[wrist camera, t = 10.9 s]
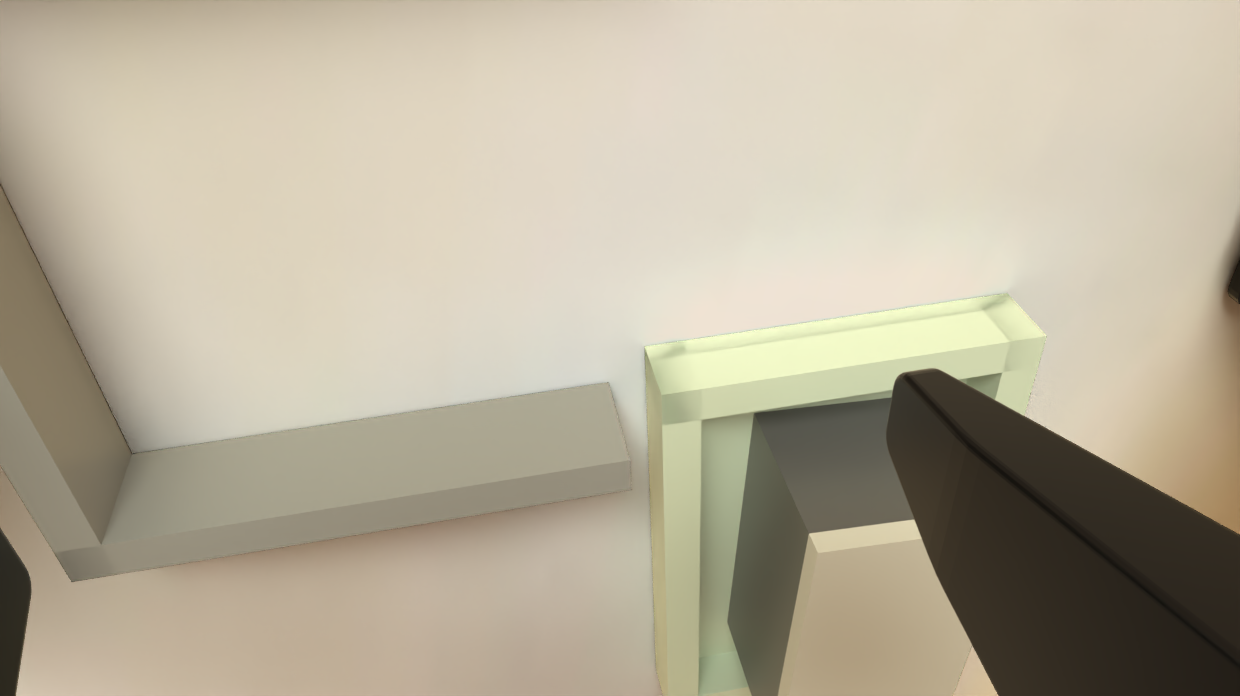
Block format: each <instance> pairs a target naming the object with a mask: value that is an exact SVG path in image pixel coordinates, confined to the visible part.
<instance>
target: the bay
mask: <svg viewBox="0 0 1240 696" xmlns="http://www.w3.org/2000/svg"><path fill="white" fill-rule="evenodd" d="M0 466H1V467H2V469H3V470H4V472H5V474H6V475H7V477H8V479H9V480H10V482H11V484H12V485H13V487H14V488H15V490H16V492H17V493H18V495H19V497H20V498H21V500H22V502H23V503H24V505H25V506H26V508H27V510H28V511H29V513H30V515H31V516H32V518H33V520H34V521H35V523H36V524H37V526H38V528H39V529H40V531H41V533H42V534H43V536H44V538H45V539H46V541H47V542H48V544H49V546H50V547H51V549H52V551H53V552H54V554H55V556H56V557H57V559H58V560H59V562H60V564H61V565H62V567H63V569H64V570H65V572H66V574H67V575H68V577H69V578H70V580H71V582H75V581H81V580H87V579H93V578H99V577H105V576H111V575H117V574H123V573H130V572H136V571H142V570H148V569H154V568H160V567H166V566H172V565H178V564H184V563H190V562H196V561H202V560H208V559H214V558H221V557H227V556H233V555H239V554H245V553H251V552H257V551H263V550H269V549H275V548H281V547H287V546H293V545H299V544H305V543H312V542H318V541H324V540H330V539H336V538H342V537H348V536H354V535H360V534H366V533H372V532H378V531H384V530H390V529H396V528H403V527H409V526H415V525H421V524H427V523H433V522H439V521H445V520H451V519H457V518H463V517H469V516H475V515H481V514H487V513H494V512H500V511H506V510H512V509H518V508H524V507H530V506H536V505H542V504H548V503H554V502H560V501H566V500H572V499H579V498H585V497H591V496H597V495H603V494H609V493H615V492H621V491H627V490H632V487H631V467H630V458H629V454H628V451H627V447H626V443H625V440H624V436H623V433H622V429H621V425H620V422H619V418H618V415H617V411H616V407H615V404H614V400H613V397H612V393H611V390H610V386H609V382H607V383H600V384H593V385H587V386H580V387H574V388H567V389H560V390H554V391H547V392H540V393H534V394H527V395H520V396H514V397H507V398H500V399H494V400H487V401H481V402H474V403H467V404H461V405H454V406H447V407H441V408H434V409H427V410H421V411H414V412H408V413H401V414H394V415H388V416H381V417H374V418H368V419H361V420H354V421H348V422H341V423H334V424H328V425H321V426H315V427H308V428H301V429H295V430H288V431H281V432H275V433H268V434H261V435H255V436H248V437H241V438H235V439H228V440H222V441H215V442H208V443H202V444H195V445H188V446H182V447H175V448H168V449H162V450H155V451H148V452H142V453H135V454H131V451H130V449H129V447H128V445H127V443H126V441H125V439H124V437H123V435H122V433H121V431H120V429H119V427H118V425H117V423H116V421H115V419H114V417H113V415H112V413H111V411H110V409H109V407H108V404H107V402H106V400H105V398H104V396H103V394H102V392H101V390H100V388H99V386H98V384H97V382H96V380H95V378H94V376H93V374H92V372H91V370H90V368H89V366H88V364H87V362H86V360H85V357H84V355H83V353H82V351H81V349H80V347H79V345H78V343H77V341H76V339H75V337H74V335H73V333H72V331H71V329H70V327H69V325H68V323H67V321H66V319H65V317H64V315H63V312H62V310H61V308H60V306H59V304H58V302H57V300H56V298H55V296H54V294H53V292H52V290H51V288H50V286H49V284H48V282H47V280H46V278H45V276H44V274H43V272H42V270H41V268H40V265H39V263H38V261H37V259H36V257H35V255H34V253H33V251H32V249H31V247H30V245H29V243H28V241H27V239H26V237H25V235H24V233H23V231H22V229H21V227H20V225H19V223H18V221H17V218H16V216H15V214H14V212H13V210H12V208H11V206H10V204H9V202H8V200H7V198H6V196H5V194H4V192H3V190H2V188H1V186H0Z"/></svg>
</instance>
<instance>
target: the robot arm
mask: <svg viewBox="0 0 1240 696" xmlns="http://www.w3.org/2000/svg"><path fill="white" fill-rule="evenodd" d="M1228 294H1229V296H1230V297H1231V298H1232V299H1234V300H1235V301H1236V302H1237V303H1239V304H1240V261H1239V263H1238V266H1237V268H1236V271H1235V273H1234V275H1233V278H1232V280H1231V283H1230V285H1229V289H1228ZM886 443H887V448H888V452H889V455H890V457H891V460H892V463H893V465H894V468H895V470H896V473H897V476H898V478H899V481H900V484H901V486H902V489H903V491H904V494H905V497H906V499H907V502H908V504H909V507H910V510H911V512H912V515H913V518H914V520H915V523H916V525H917V528H918V531H919V533H920V536H921V538H922V541H923V544H924V546H925V549H926V551H927V554H928V557H929V559H930V561H931V564H932V566H933V569H934V571H935V573H936V576H937V578H938V580H939V582H940V584H941V586H942V588H943V590H944V592H945V594H946V596H947V598H948V600H949V602H950V604H951V605H952V607H953V609H954V611H955V613H956V615H957V617H958V619H959V621H960V623H961V625H962V627H963V628H964V630H965V632H966V634H967V636H968V638H969V640H970V642H971V644H972V646H973V648H974V650H975V651H976V653H977V655H978V657H979V659H980V661H981V663H982V665H983V667H984V669H985V671H986V673H987V674H988V676H989V678H990V680H991V682H992V684H993V686H994V688H995V690H996V692H997V694H998V696H1240V535H1239V534H1238V533H1236V532H1234V531H1232V530H1230V529H1228V528H1227V527H1225V526H1223V525H1221V524H1219V523H1218V522H1216V521H1214V520H1212V519H1210V518H1209V517H1207V516H1205V515H1203V514H1201V513H1199V512H1198V511H1196V510H1194V509H1192V508H1190V507H1189V506H1187V505H1185V504H1183V503H1181V502H1179V501H1178V500H1176V499H1174V498H1172V497H1170V496H1169V495H1167V494H1165V493H1163V492H1161V491H1160V490H1158V489H1156V488H1154V487H1152V486H1150V485H1149V484H1147V483H1145V482H1143V481H1141V480H1140V479H1138V478H1136V477H1134V476H1132V475H1130V474H1129V473H1127V472H1125V471H1123V470H1121V469H1120V468H1118V467H1116V466H1114V465H1112V464H1111V463H1109V462H1107V461H1105V460H1103V459H1101V458H1100V457H1098V456H1096V455H1094V454H1092V453H1091V452H1089V451H1087V450H1085V449H1083V448H1081V447H1080V446H1078V445H1076V444H1074V443H1072V442H1071V441H1069V440H1067V439H1065V438H1063V437H1062V436H1060V435H1058V434H1056V433H1054V432H1052V431H1051V430H1049V429H1047V428H1045V427H1043V426H1042V425H1040V424H1038V423H1036V422H1034V421H1032V420H1031V419H1029V418H1027V417H1025V416H1023V415H1022V414H1020V413H1018V412H1016V411H1014V410H1013V409H1011V408H1009V407H1007V406H1005V405H1003V404H1002V403H1000V402H998V401H996V400H994V399H993V398H991V397H989V396H987V395H985V394H983V393H982V392H980V391H978V390H976V389H974V388H973V387H971V386H969V385H967V384H965V383H964V382H962V381H960V380H958V379H956V378H954V377H953V376H951V375H949V374H947V373H945V372H944V371H941V370H939V369H936V368H927V369H921V370H915V371H908V372H903V373H901V374H899V375H898V376H897V378H896V380H895V382H894V386H893V391H892V397H891V403H890V409H889V414H888V420H887V426H886ZM30 600H31V581H30V577H29V574H28V571H27V569H26V567H25V565H24V564H23V562H22V561H21V559H20V558H19V556H18V555H17V553H16V552H15V550H14V548H13V547H12V545H11V544H10V542H9V541H8V539H7V538H6V536H5V535H4V533H3V531H2V530H1V528H0V696H16V691H17V684H18V678H19V671H20V665H21V658H22V652H23V645H24V639H25V632H26V626H27V619H28V613H29V606H30Z"/></svg>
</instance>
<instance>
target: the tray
mask: <svg viewBox="0 0 1240 696" xmlns="http://www.w3.org/2000/svg"><path fill="white" fill-rule="evenodd" d="M1046 338H1047V336H1046V334H1045V333H1044V332H1043V331H1042V330H1041V329H1040V328H1039V327H1038V326H1037V325H1036V324H1035V323H1034V322H1033V321H1032V319H1031V318H1030V317H1029V316H1028V315H1027V314H1026V313H1025V312H1024V311H1023V310H1022V309H1021V308H1020V307H1019V305H1018V304H1017V303H1016V302H1015V301H1014V300H1013V299H1012V298H1011V297H1010V296H1009V295H1008V294H1007V293H1006V294H999V295H992V296H985V297H978V298H972V299H965V300H958V301H951V302H944V303H937V304H931V305H924V306H917V307H910V308H903V309H897V310H890V311H883V312H876V313H869V314H862V315H856V316H849V317H842V318H835V319H828V320H822V321H815V322H808V323H801V324H794V325H787V326H781V327H774V328H767V329H760V330H753V331H747V332H740V333H733V334H726V335H719V336H712V337H706V338H699V339H692V340H685V341H678V342H672V343H665V344H658V345H651V346H645V370H646V399H647V427H648V456H649V485H650V513H651V542H652V571H653V599H654V628H655V657H656V670H657V674H658V678H659V682H660V686H661V690H662V695H663V696H752V695H751V692H750V689H749V686H748V683H747V680H746V677H745V674H744V671H743V668H742V665H741V662H740V659H739V656H738V653H737V650H736V647H735V644H734V641H733V638H732V635H731V632H730V629H729V626H728V623H727V620H728V612H729V604H730V596H731V588H732V580H733V573H734V565H735V557H736V549H737V541H738V534H739V526H740V518H741V510H742V502H743V494H744V487H745V479H746V471H747V463H748V455H749V447H750V440H751V432H752V424H753V416H754V413H758V412H767V411H776V410H785V409H793V408H802V407H811V406H820V405H829V404H838V403H847V402H855V401H864V400H873V399H882V398H891V397H892V391H893V386H894V382H895V380H896V378H897V376H898V375H899V374H901V373H903V372H908V371H915V370H921V369H927V368H936V369H939V370H941V371H944V372H945V373H947V374H949V375H951V376H953V377H954V378H956V379H958V380H960V381H962V382H964V383H965V384H967V385H969V386H971V387H973V388H974V389H976V390H978V391H980V392H982V393H983V394H985V395H987V396H989V397H991V398H993V399H994V400H996V401H998V402H1000V403H1002V404H1003V405H1005V406H1007V407H1009V408H1011V409H1013V410H1014V411H1016V412H1018V413H1020V414H1022V415H1023V416H1024V415H1025V411H1026V408H1027V404H1028V401H1029V397H1030V394H1031V390H1032V387H1033V383H1034V380H1035V376H1036V373H1037V369H1038V366H1039V362H1040V359H1041V355H1042V352H1043V348H1044V345H1045V341H1046Z"/></svg>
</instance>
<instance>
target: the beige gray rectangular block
mask: <svg viewBox="0 0 1240 696" xmlns="http://www.w3.org/2000/svg"><path fill="white" fill-rule="evenodd" d="M890 403H891V398H882V399H873V400H864V401H855V402H847V403H838V404H829V405H820V406H811V407H802V408H793V409H785V410H776V411H767V412H758V413H754V416H753V424H752V432H751V440H750V447H749V455H748V463H747V471H746V479H745V487H744V494H743V502H742V510H741V518H740V526H739V534H738V541H737V549H736V557H735V565H734V573H733V580H732V588H731V596H730V604H729V612H728V620H727V623H728V626H729V629H730V632H731V635H732V638H733V641H734V644H735V647H736V650H737V653H738V656H739V659H740V662H741V665H742V668H743V671H744V674H745V677H746V680H747V683H748V686H749V689H750V692H751V695H752V696H953V694H954V692H955V689H956V686H957V684H958V681H959V679H960V676H961V673H962V671H963V668H964V666H965V663H966V660H967V658H968V655H969V653H970V650H971V647H972V644H971V642H970V640H969V638H968V636H967V634H966V632H965V630H964V628H963V627H962V625H961V623H960V621H959V619H958V617H957V615H956V613H955V611H954V609H953V607H952V605H951V604H950V602H949V600H948V598H947V596H946V594H945V592H944V590H943V588H942V586H941V584H940V582H939V580H938V578H937V576H936V573H935V571H934V569H933V566H932V564H931V561H930V559H929V557H928V554H927V551H926V549H925V546H924V544H923V541H922V538H921V536H920V533H919V531H918V528H917V525H916V523H915V520H914V518H913V515H912V512H911V510H910V507H909V504H908V502H907V499H906V497H905V494H904V491H903V489H902V486H901V484H900V481H899V478H898V476H897V473H896V470H895V468H894V465H893V463H892V460H891V457H890V455H889V452H888V448H887V443H886V426H887V420H888V414H889V409H890Z"/></svg>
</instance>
